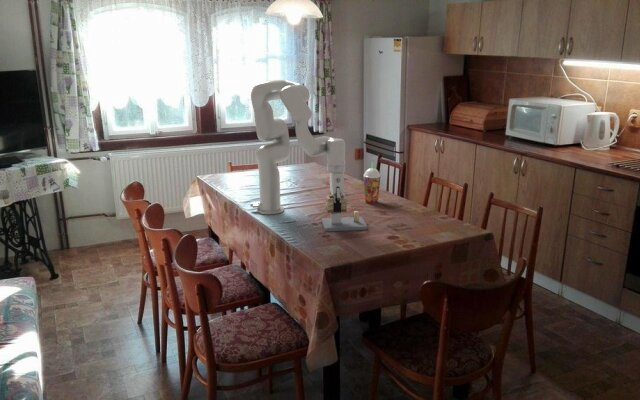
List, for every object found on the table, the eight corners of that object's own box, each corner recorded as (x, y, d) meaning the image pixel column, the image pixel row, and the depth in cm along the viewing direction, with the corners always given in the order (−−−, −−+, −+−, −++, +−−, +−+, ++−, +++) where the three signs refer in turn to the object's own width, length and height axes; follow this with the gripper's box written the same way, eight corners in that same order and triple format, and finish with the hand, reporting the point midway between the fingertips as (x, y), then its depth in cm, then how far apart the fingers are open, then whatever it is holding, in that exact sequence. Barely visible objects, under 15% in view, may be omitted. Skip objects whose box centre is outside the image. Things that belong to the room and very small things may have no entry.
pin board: (324, 231, 225) (324, 217, 224) (321, 221, 238) (321, 208, 236) (367, 229, 227) (367, 216, 226) (361, 219, 240) (361, 207, 238)
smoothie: (359, 200, 268) (360, 161, 262) (374, 199, 271) (375, 160, 266) (367, 205, 261) (368, 165, 255) (382, 203, 264) (384, 163, 258)
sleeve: (346, 211, 228) (346, 198, 226) (327, 212, 227) (327, 199, 225) (344, 207, 233) (344, 194, 232) (326, 208, 233) (326, 195, 231)
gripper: (348, 172, 217) (348, 215, 222) (341, 163, 234) (341, 203, 239) (330, 173, 216) (330, 215, 221) (324, 164, 233) (325, 203, 238)
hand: (336, 208), depth 230 cm, fingers closed on sleeve, 6 cm apart
